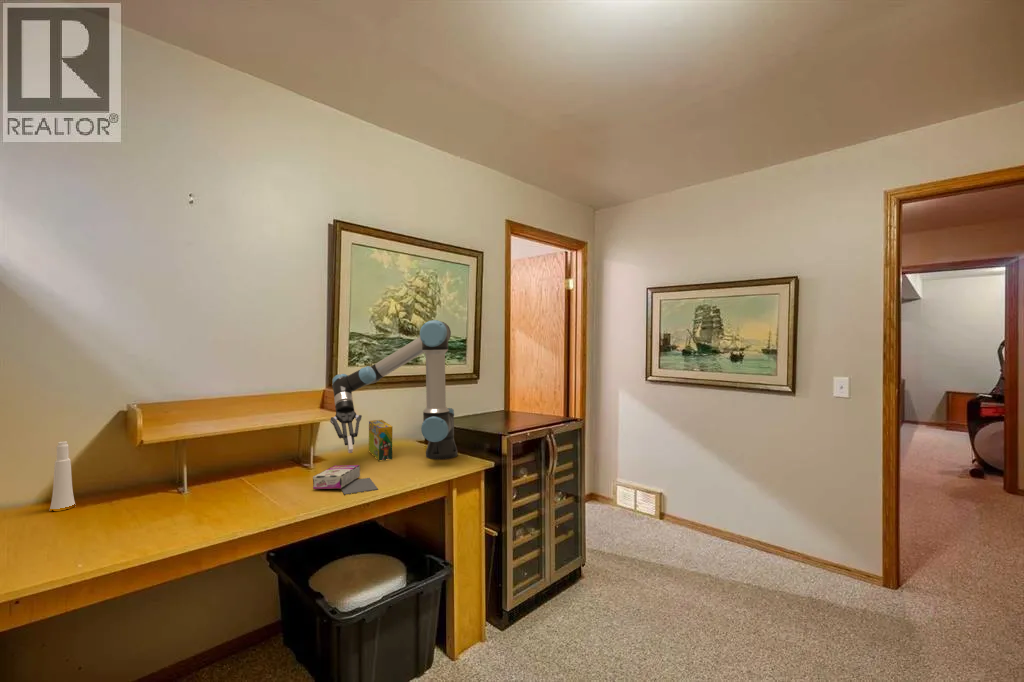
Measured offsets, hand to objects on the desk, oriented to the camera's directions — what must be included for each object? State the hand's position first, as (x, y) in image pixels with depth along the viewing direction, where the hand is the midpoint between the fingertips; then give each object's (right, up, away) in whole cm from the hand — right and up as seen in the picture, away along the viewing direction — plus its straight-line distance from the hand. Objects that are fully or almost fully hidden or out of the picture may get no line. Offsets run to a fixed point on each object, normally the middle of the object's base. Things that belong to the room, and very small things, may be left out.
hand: (350, 451), depth 182 cm
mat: (+7, -11, -12) cm, 17 cm away
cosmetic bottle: (-82, -11, -35) cm, 90 cm away
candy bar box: (-1, -8, -1) cm, 8 cm away
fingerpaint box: (+2, -11, +33) cm, 34 cm away
